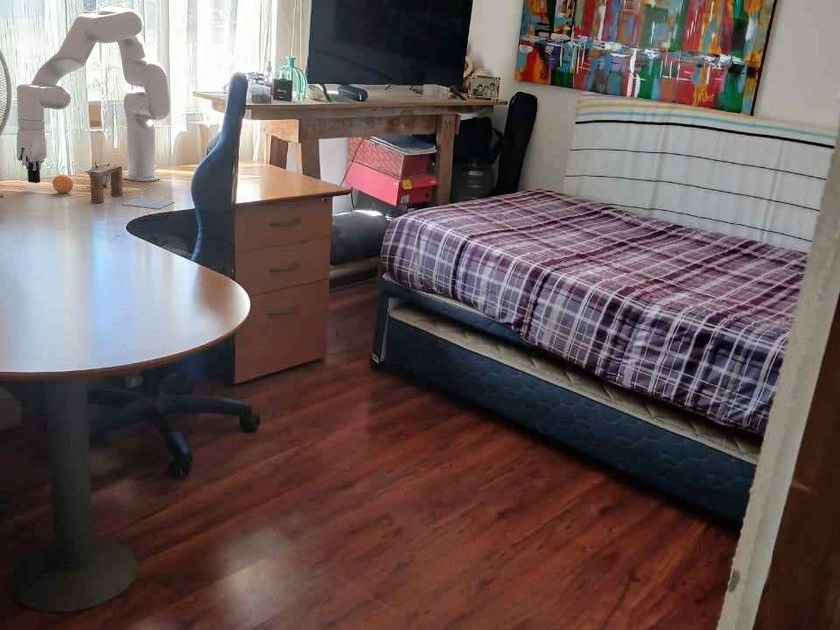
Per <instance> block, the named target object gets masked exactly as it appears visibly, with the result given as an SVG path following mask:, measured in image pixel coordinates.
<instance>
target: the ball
mask: <svg viewBox="0 0 840 630" xmlns="http://www.w3.org/2000/svg"><path fill="white" fill-rule="evenodd" d="M52 186H53V188H54V190H55V191H56V192H57V193H59V194H67V193H69V192H71V191H72V190H73V187H74V183H73V180H72V179H71V177H70V176H68V175H66V174H59V175H56V176H55V177H54V178H53V180H52Z"/></svg>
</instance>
